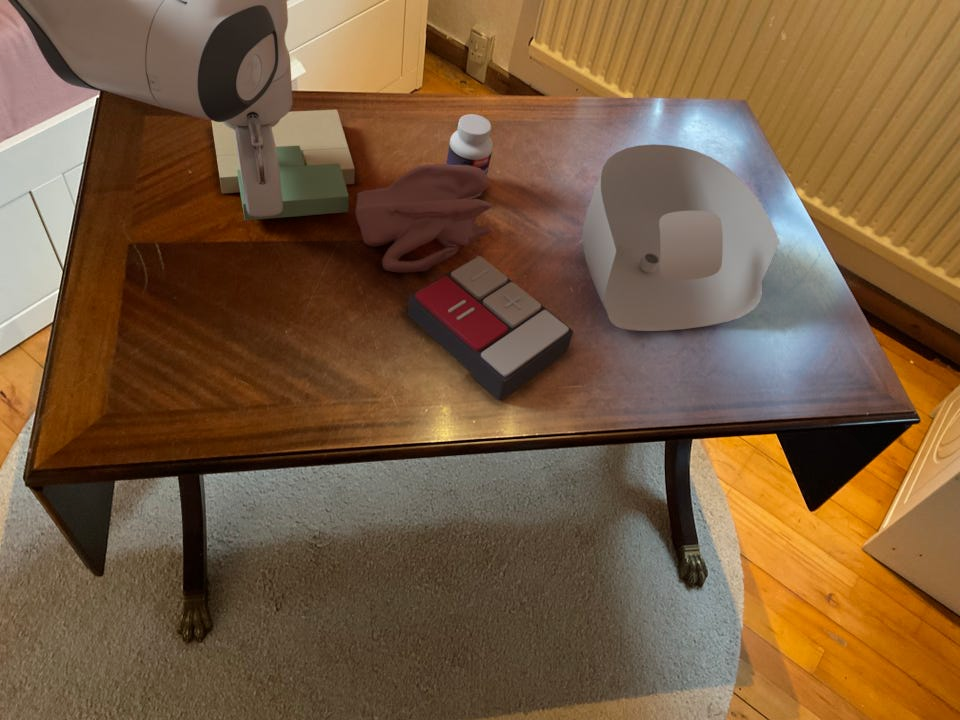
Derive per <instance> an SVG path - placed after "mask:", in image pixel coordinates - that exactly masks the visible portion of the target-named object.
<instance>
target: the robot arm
mask: <svg viewBox="0 0 960 720" xmlns="http://www.w3.org/2000/svg"><path fill="white" fill-rule="evenodd" d="M7 1H8V2H9V3H10V5H11V6H12V7H13V8H14V9H15V10H16V11H17V13H18V14H19V15H20V17H21V18H22V19H23V21H24V23H25V24H26V26H27V27H28V29H29V31H30V33H31V35H32V36H33V39H34V40H35V44H36V45H37V47H38V49H39V51H40V54H41V55H42V56H43V58H44V59H45V61H46V63H47V64H48V66H49V67H50V68H51V70H52V71H53V72H54V74H55V75H56V76H58V77H59V79H61V80H62V81H64V82H65V83H67V84H69V85H71V86H74V87H79V88H84V89H88V90H94V91H98V92H103V93H109V94H114V95H118V96H121V97H124V98H128V99H131V100H134V101H138V102H141V103H145V104H149V105H151V106H154V107H158V108H162V109H166V110H170V111H174V112H177V113H181V114H184V115H187V116H192V117H195V118H199V119H202V120H207V121H211V120H212V121H216V122H223V123H224V124H225V125H226V126H228V127H230V128H232V129H233V131H234V137H235V143H236V149H237V155H238V161H239V167H240V173H241V179H242V185H243V191H244V197H245V203H246V209H247V212H248V214H249V216H250V217H258V218H261V217H270V216H277V215H280V214H281V213H282V210H283V201H282V190H281V180H280V170H279V162H278V155H277V150H276V145H275V141H274V136H273V131H272V127H274V126H275V125H276V124H277V123H278V122H279V121H280V119H281V118H283V117H284V116H285V115H286V114H287V113H288V112H291V110H292V106H293V86H292V85H293V84H292V83H293V82H292V65H291V56H290V52H289V48H288V46H287V44H286V33H287V28H288V26H289V25H288V24H289V15H288V14H289V13H288V11H289V10H288V0H7ZM212 121H211V122H212Z"/></svg>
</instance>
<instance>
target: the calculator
mask: <svg viewBox="0 0 960 720" xmlns="http://www.w3.org/2000/svg"><path fill="white" fill-rule="evenodd" d="M407 307H408V309H407V316H408V317H409V318H410V319H411V320H412V321H413V323H415V324H416V325H417V326H418V327H420V328H421V329H422V330H423V331H424V332H425V333H426V334H427V335H429V336H430V337H431V338H432V339H433V340H434V341H436V342H437V343H438V344H439V345H440V346H441V347H442V348H443V349H444V350H446V352H447V353H449V354H450V355H451V356H452V357H453V358H455V360H456V361H458V362H459V363H460V364H461V365H462V366H463V367H464V368H466V369H467V370H468V371H469V372H470V374H471V375H472V377H473V378H474V380H475V381H476V382H477V383H478V384H479V385H480V386H481V387H482V388H483V389H485V390H486V391H487V392H488V393H489V394H490V395H491V396H492V397H494V398H495V400H497V401H498V402H503V401H504V400H506V399H507V398H508V397H510V396H511V395H513V394H514V393H515V392H517V391H518V390H520V388H522V387H523V386H524V385H526V384H528V383H529V382H530V381H531V380H533V379H534V378H535V377H537V376H538V375H539V374H540V373H542V372H543V371H544V370H546V369H547V368H548V367H550V366H551V365H552V364H554V363H555V362H557V361H558V360H560V359H561V358H562V357H563V356H565V355H566V354H567V352H568V351H569V347H570V344H571V342H572V338H573V335H574V330H573V329H572V328H571V327H569V325H567V324H566V323H565V322H564V321H562V320H561V319H560V318H559V317H557V316H556V315H555V314H554V313H552V312H551V311H550V310H549V309H548V308H546V307H545V306H543V305H542V304H541V303H540V302H539V301H537V300H536V299H535V298H533V296H531V295H530V294H529V293H527V292H526V291H525V290H524V289H523V288H521V287H520V286H518V285H517V284H516V283H515V282H514V281H512V279H510V278H509V277H508V276H506V275H505V274H504V273H502V272H501V271H500V270H499V269H498V268H496V267H495V266H494V265H492V264H491V263H490V262H489V261H487V260H486V259H485V258H484V257H483V256H481V255H478V256H475V257H473V258H472V259H470V260H468V261H467V262H464V263H463V264H462V265H460V266H458V267H457V268H455V269H453V270H452V271H450V272H448V273H446V274H445V275H443V276H441V277H440V278H438V279H436V280H434V281H433V282H431V283H429V284H428V285H426V286H424V287H423V288H421V289H419V290H418V291H416V292H414V293H412V294H411V295H410V296H409V298H408V306H407Z"/></svg>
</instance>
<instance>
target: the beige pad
mask: <svg viewBox="0 0 960 720" xmlns="http://www.w3.org/2000/svg"><path fill="white" fill-rule="evenodd" d="M340 117H341V116H340V114H339V111H338V109H318V110H317V109H316V110H295V111H289V112H288V113H287V114H286V115H285V116H284V117H283V118H281V119H280V121H279V122H278V123H277V124H276V125H275V126H274V127H272V131H273V136H274V141H275V145H276V147H281V146H298V145H299V146H300V149H301V153H302V157H303V161H304V165H321V164H336V163H339V164H340V167H341V170H342V174H343V177H344V181H345V184H346V185H354V184H355V173H356V172H355V166H354V160H353V158H352V155H351V152H350V151H351V150H350V148H349V145H348V142H347V141H348V140H347V138H346V135H345V131H344V127H343V124H342V120H341V118H340ZM210 121H211V127H212V134H213V140H214V141H213V143H214V148H215V155H216V162H217V168H218V176H219V183H220V189H221V194H234V193H236V194H237V193H240V188H239V181H238V174H237V170H240V167H239V161H238V155H237V149H236V143H235V137H234V131H233V129H232V128H230V127H228V126H226V125H225V124H224V123H223V122H216V121H212V120H210Z"/></svg>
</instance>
